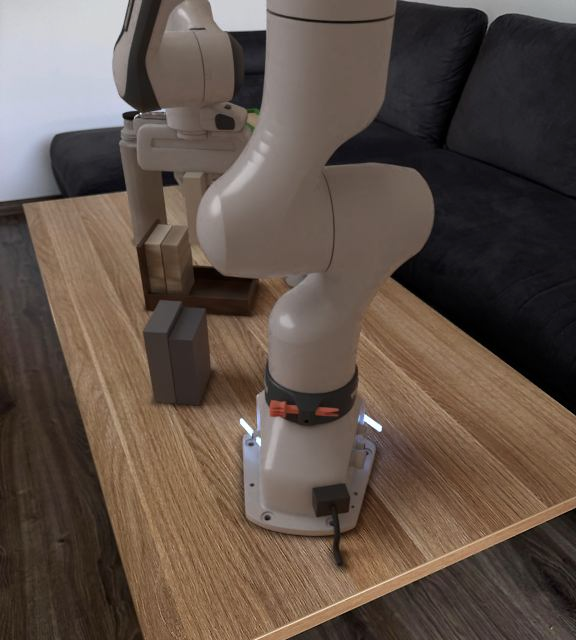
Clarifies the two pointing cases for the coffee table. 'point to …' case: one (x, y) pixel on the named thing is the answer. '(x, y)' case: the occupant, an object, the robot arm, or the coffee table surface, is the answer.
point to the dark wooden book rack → (188, 275)
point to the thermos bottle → (140, 184)
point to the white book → (194, 198)
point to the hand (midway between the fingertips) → (199, 196)
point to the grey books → (178, 353)
